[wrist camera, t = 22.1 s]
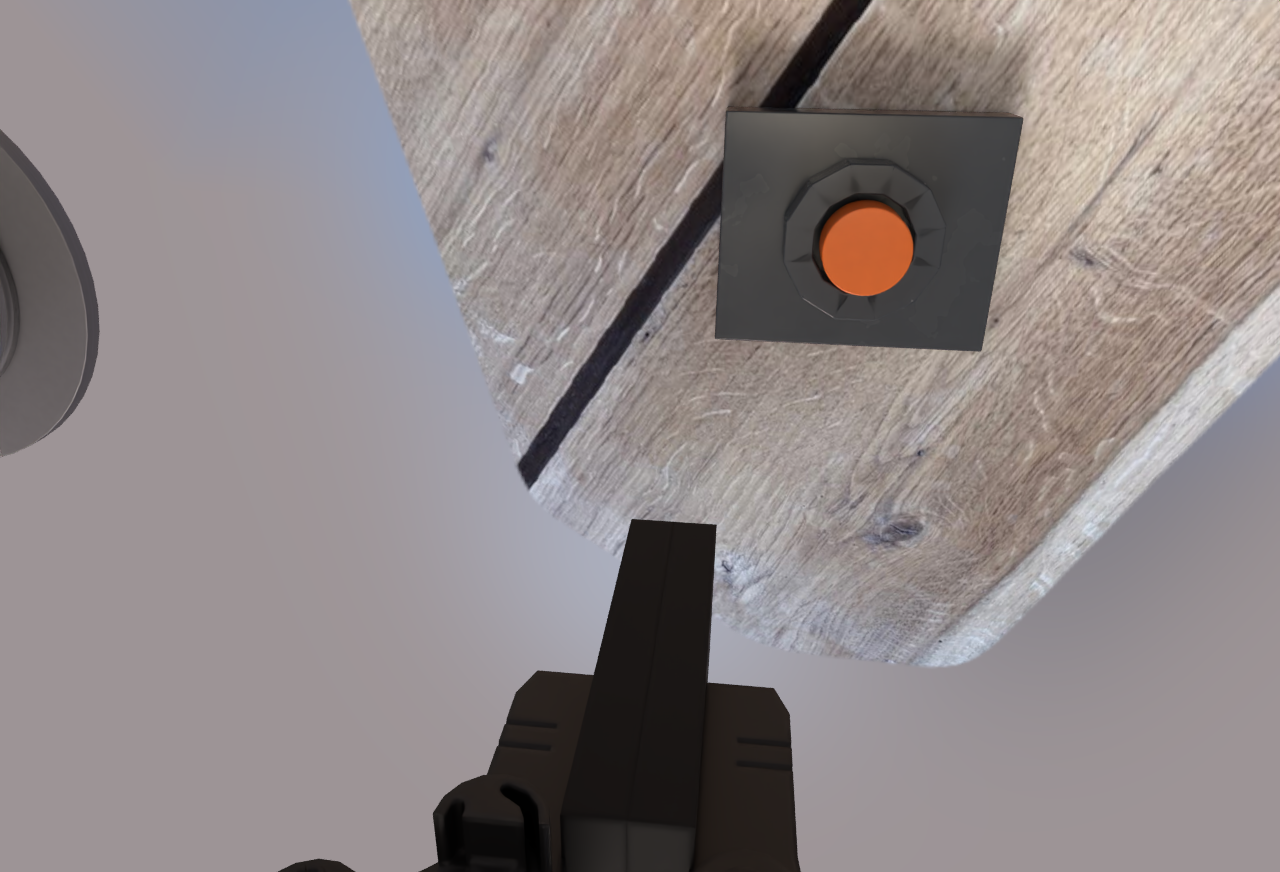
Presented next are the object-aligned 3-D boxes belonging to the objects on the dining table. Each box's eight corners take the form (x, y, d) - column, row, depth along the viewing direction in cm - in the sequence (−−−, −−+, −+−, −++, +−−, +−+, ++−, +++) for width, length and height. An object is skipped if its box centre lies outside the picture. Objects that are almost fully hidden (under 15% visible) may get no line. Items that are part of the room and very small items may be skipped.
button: (814, 283, 38) (817, 294, 37) (823, 198, 37) (826, 205, 35) (900, 286, 38) (907, 298, 37) (912, 201, 37) (919, 208, 35)
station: (716, 325, 43) (713, 352, 40) (727, 106, 39) (724, 114, 36) (970, 336, 42) (991, 365, 39) (1009, 112, 38) (1037, 121, 35)
